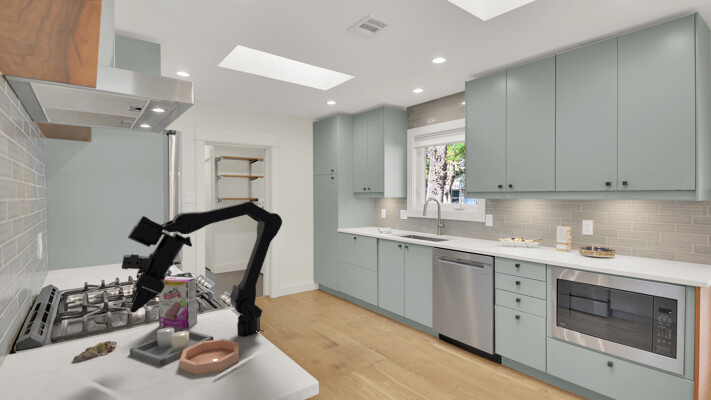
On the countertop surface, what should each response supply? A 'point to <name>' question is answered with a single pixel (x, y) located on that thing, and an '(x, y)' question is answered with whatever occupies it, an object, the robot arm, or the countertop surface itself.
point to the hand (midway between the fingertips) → (132, 307)
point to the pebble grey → (164, 337)
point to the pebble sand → (179, 340)
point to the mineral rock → (96, 351)
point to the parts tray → (166, 349)
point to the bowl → (210, 356)
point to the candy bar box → (178, 302)
